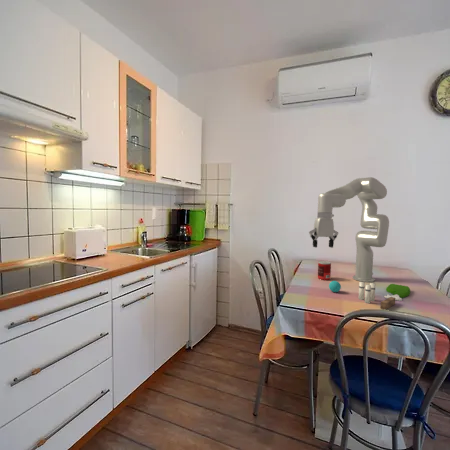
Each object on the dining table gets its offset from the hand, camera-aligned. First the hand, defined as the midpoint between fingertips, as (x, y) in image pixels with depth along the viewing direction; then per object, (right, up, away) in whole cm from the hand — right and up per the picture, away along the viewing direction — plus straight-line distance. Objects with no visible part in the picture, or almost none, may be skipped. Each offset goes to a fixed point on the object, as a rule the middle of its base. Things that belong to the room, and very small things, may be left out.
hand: (322, 247), depth 142 cm
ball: (+6, -21, -2) cm, 22 cm away
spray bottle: (+38, -26, -4) cm, 46 cm away
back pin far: (+19, -25, -14) cm, 34 cm away
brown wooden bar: (+22, -26, -22) cm, 40 cm away
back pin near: (+15, -25, -17) cm, 34 cm away
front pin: (+14, -25, -12) cm, 31 cm away
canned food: (+10, -23, +25) cm, 35 cm away
